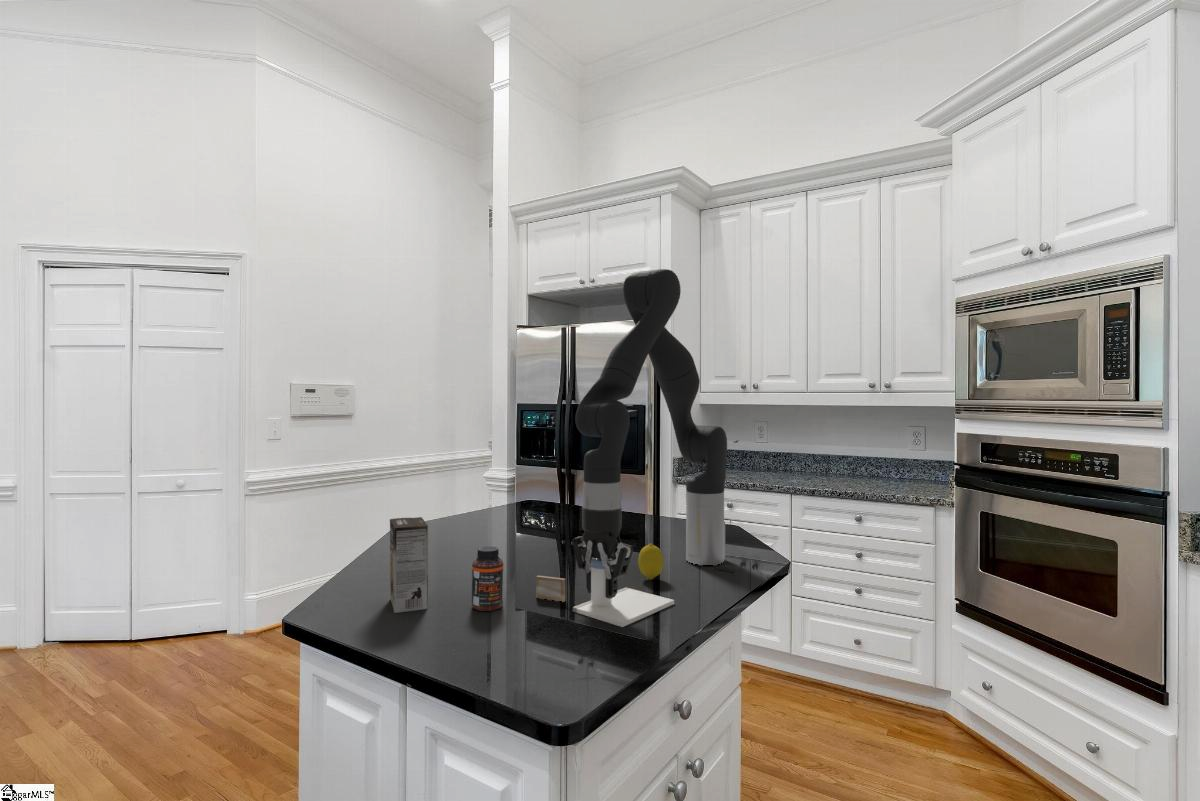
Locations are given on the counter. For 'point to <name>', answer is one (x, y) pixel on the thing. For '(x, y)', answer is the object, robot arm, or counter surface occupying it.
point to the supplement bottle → (487, 580)
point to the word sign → (550, 588)
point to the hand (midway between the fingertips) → (601, 594)
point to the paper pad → (625, 607)
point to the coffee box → (408, 564)
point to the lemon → (650, 561)
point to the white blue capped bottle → (598, 583)
